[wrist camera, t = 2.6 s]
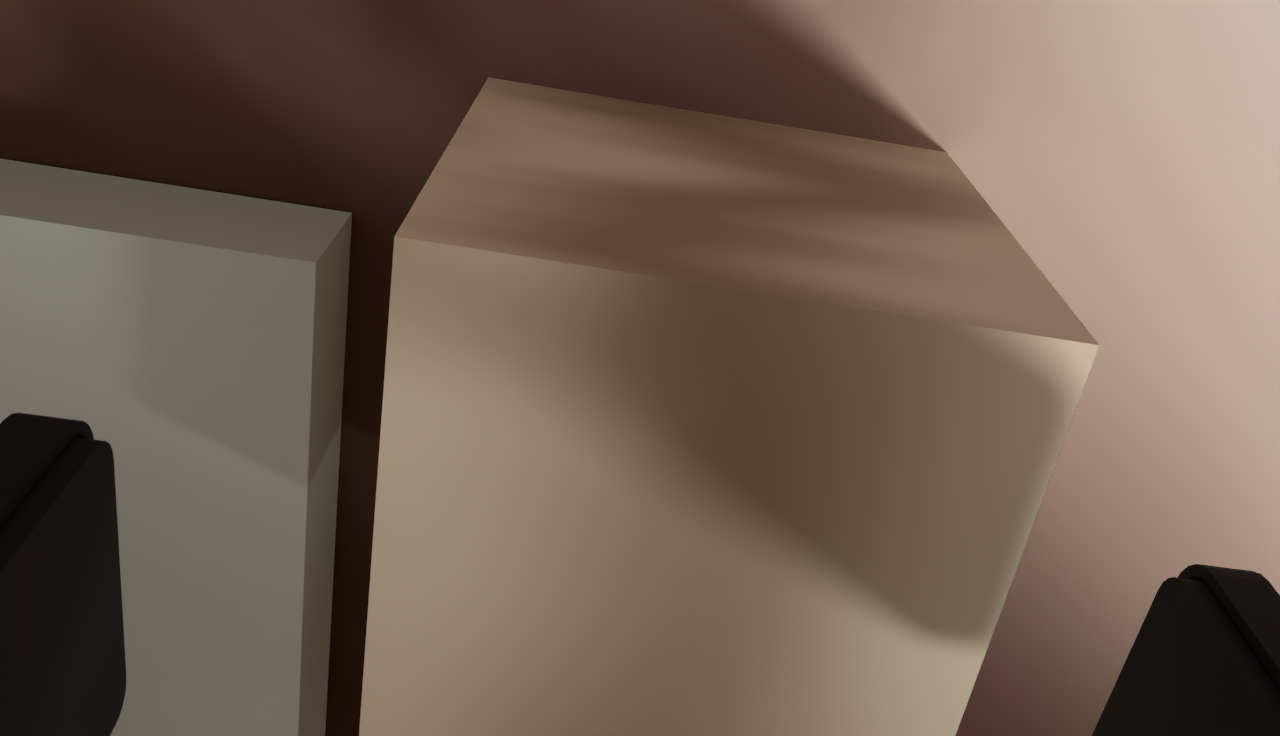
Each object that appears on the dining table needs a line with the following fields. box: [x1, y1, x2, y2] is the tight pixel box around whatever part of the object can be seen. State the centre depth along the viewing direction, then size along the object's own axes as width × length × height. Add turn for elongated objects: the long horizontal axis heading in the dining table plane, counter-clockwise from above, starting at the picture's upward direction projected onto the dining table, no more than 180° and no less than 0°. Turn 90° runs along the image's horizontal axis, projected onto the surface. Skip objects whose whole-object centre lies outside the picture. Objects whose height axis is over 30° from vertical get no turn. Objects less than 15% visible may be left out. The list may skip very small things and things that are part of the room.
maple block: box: [359, 77, 1099, 736], centre depth 15 cm, size 6×6×6 cm
